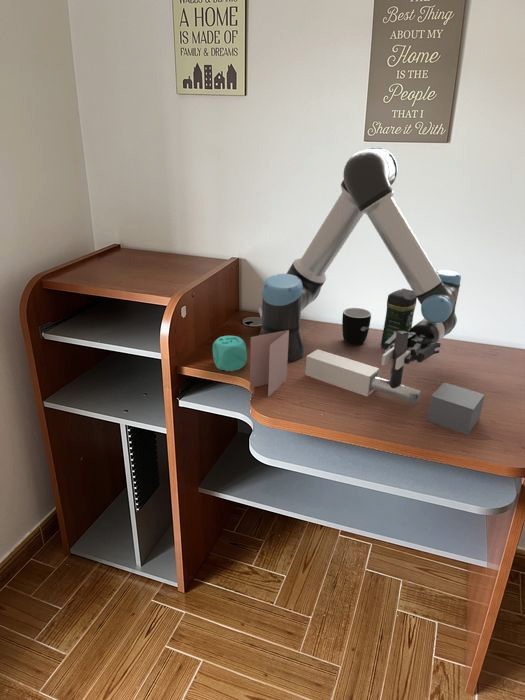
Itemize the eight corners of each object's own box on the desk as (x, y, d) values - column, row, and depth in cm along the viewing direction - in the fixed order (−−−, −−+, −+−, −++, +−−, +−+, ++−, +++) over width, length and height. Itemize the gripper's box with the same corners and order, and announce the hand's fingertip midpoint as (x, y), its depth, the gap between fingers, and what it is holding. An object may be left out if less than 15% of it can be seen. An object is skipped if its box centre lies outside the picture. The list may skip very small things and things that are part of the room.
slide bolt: (325, 376, 150) (330, 316, 143) (332, 371, 153) (337, 312, 146) (414, 406, 137) (424, 341, 129) (419, 400, 139) (430, 337, 132)
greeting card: (284, 378, 151) (287, 328, 145) (298, 389, 145) (301, 338, 139) (248, 386, 146) (249, 335, 140) (261, 398, 140) (262, 346, 134)
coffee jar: (399, 354, 168) (408, 297, 160) (377, 347, 172) (384, 291, 165) (413, 344, 175) (421, 290, 167) (391, 338, 179) (398, 284, 172)
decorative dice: (246, 369, 156) (247, 344, 152) (220, 373, 153) (220, 347, 150) (238, 358, 162) (238, 333, 159) (212, 361, 160) (212, 337, 156)
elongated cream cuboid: (305, 375, 153) (306, 356, 151) (316, 367, 158) (317, 349, 155) (367, 396, 143) (369, 376, 140) (377, 388, 147) (379, 368, 145)
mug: (359, 349, 170) (362, 319, 166) (335, 342, 175) (337, 312, 171) (377, 338, 179) (380, 309, 175) (353, 331, 184) (356, 303, 180)
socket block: (426, 420, 133) (431, 395, 130) (439, 406, 139) (444, 382, 136) (467, 434, 127) (473, 409, 124) (479, 419, 134) (484, 394, 131)
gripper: (452, 354, 147) (419, 385, 130) (397, 338, 156) (359, 366, 138) (457, 328, 144) (423, 357, 127) (400, 314, 152) (362, 339, 135)
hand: (390, 362), depth 132 cm, fingers closed on slide bolt, 3 cm apart
